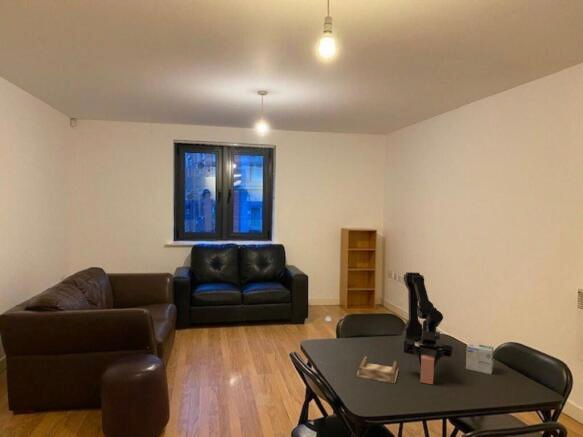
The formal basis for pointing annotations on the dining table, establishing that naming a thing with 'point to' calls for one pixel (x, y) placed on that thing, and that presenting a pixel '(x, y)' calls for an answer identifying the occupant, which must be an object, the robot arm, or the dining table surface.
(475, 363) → the light bulb box
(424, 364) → the pink rectangular block
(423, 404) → the dining table surface
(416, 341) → the robot arm
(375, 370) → the rack
